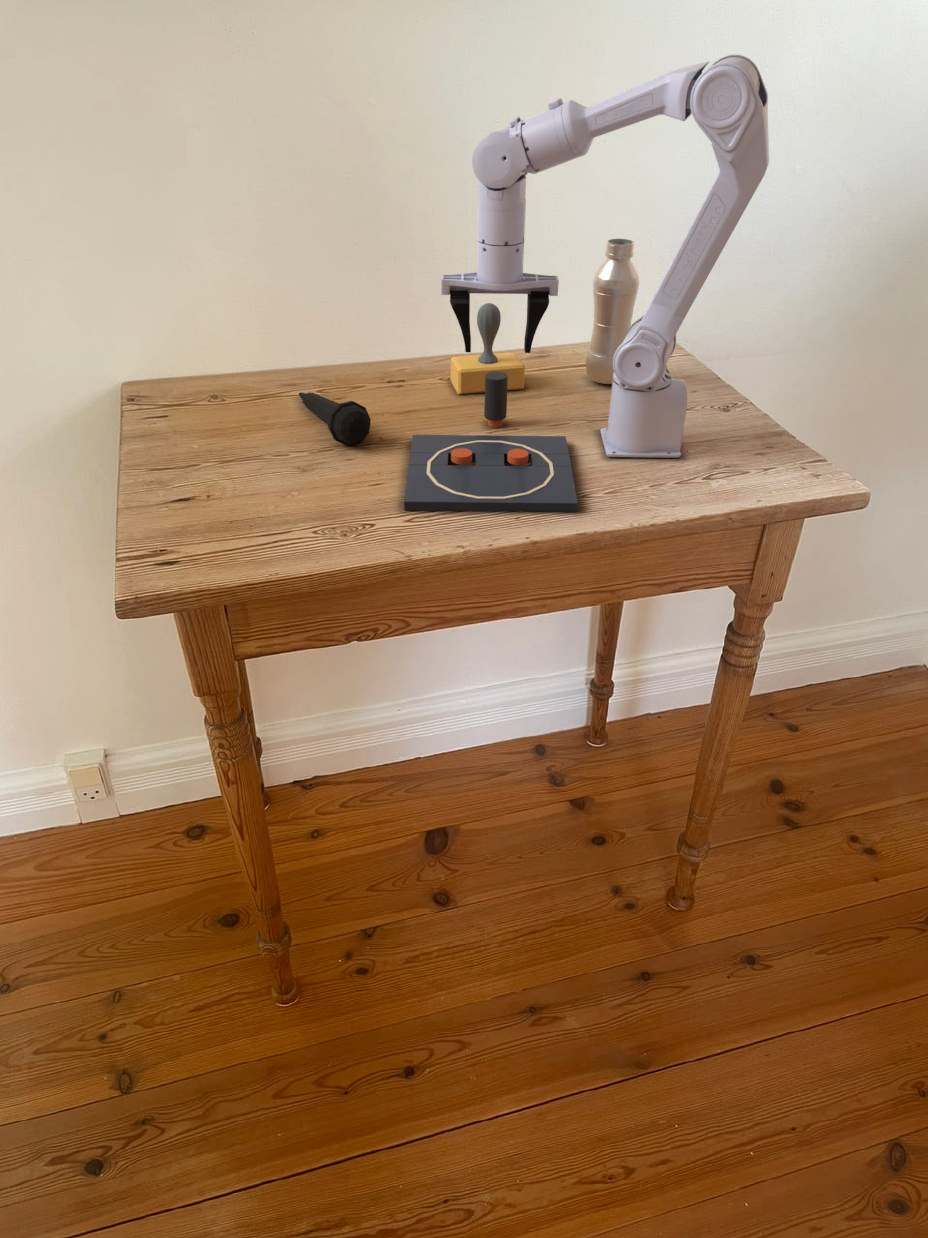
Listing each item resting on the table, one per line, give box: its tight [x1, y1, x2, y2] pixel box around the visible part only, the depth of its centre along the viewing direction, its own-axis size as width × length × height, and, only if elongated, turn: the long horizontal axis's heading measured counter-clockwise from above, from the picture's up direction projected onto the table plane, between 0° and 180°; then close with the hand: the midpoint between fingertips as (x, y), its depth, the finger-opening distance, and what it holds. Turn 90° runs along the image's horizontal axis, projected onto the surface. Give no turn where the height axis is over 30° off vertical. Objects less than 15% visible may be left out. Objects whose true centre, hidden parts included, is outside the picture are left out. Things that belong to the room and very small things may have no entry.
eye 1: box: [451, 448, 472, 465], centre depth 114 cm, size 3×3×1 cm
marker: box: [483, 371, 508, 428], centre depth 124 cm, size 3×3×7 cm
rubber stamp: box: [450, 302, 526, 395], centre depth 134 cm, size 10×6×12 cm, turn 103°
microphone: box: [298, 391, 371, 447], centre depth 125 cm, size 6×6×20 cm
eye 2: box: [507, 449, 529, 466], centre depth 114 cm, size 3×3×1 cm
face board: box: [403, 434, 579, 513], centre depth 113 cm, size 20×18×1 cm
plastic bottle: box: [585, 238, 641, 385], centre depth 133 cm, size 6×7×20 cm
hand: (497, 349), depth 120 cm, fingers open, 7 cm apart
